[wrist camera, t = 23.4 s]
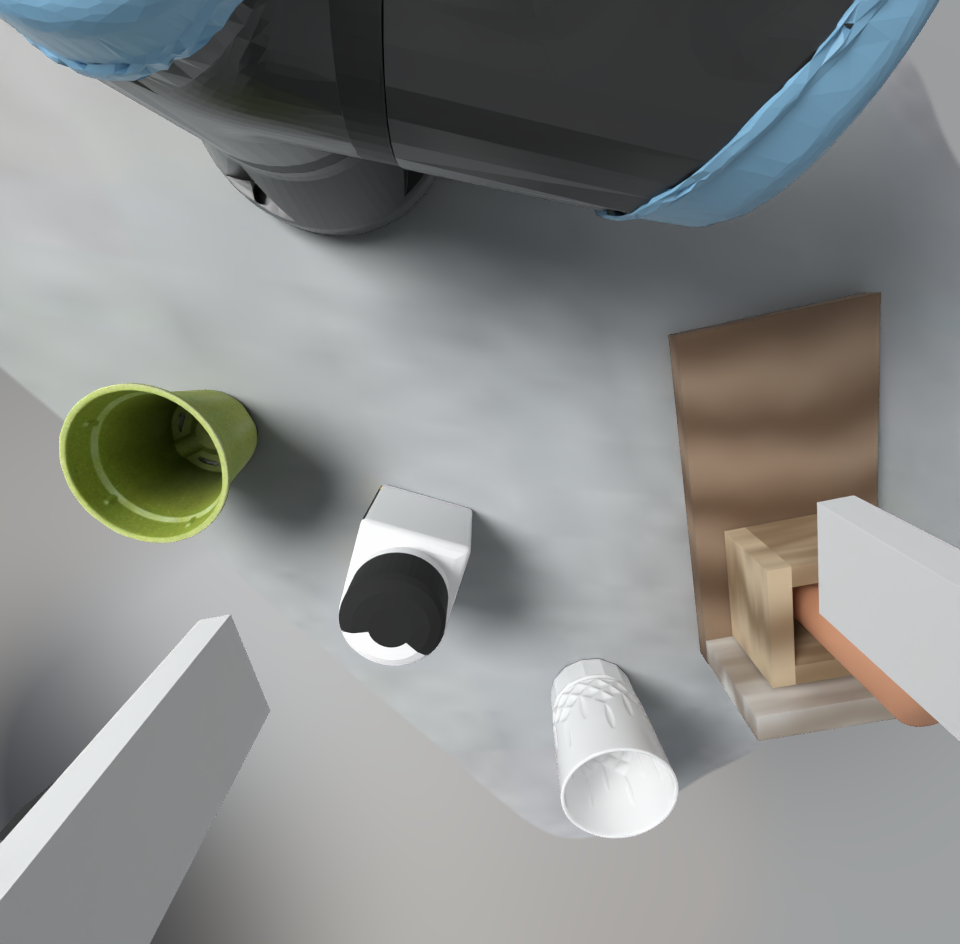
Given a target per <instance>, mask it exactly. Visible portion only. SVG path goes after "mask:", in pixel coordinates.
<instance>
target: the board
mask: <svg viewBox="0 0 960 944" xmlns="http://www.w3.org/2000/svg"><path fill="white" fill-rule="evenodd" d="M880 304H881V293H862V294H857V295H853V296H848V297H843V298H839V299H834V300H829V301H825V302H820V303H815V304H811V305H806V306H801V307H797V308H792V309H787V310H783V311H778V312H773V313H769V314H764V315H759V316H755V317H750V318H745V319H741V320H736V321H731V322H727V323H722V324H717V325H713V326H708V327H704V328H699V329H694V330H690V331H685V332H680V333H676V334H671V335H669V345H670V354H671V364H672V374H673V384H674V394H675V404H676V414H677V424H678V434H679V444H680V453H681V463H682V473H683V483H684V493H685V503H686V513H687V523H688V533H689V542H690V552H691V562H692V572H693V582H694V592H695V602H696V612H697V622H698V632H699V641H700V651H701V654H702V655H703V657H704V658H705V660H706V662H707V663H708V664H709V665H710V666H711V668H712V669H713V671H714V672H715V674H716V676H717V677H718V679H719V680H720V682H721V683H722V685H723V687H724V688H725V690H726V691H727V693H728V694H729V696H730V698H731V699H732V701H733V702H734V704H735V705H736V707H737V709H738V710H739V712H740V713H741V715H742V717H743V718H744V720H745V721H746V723H747V724H748V726H749V728H750V729H751V731H752V732H753V734H754V735H755V737H756V739H757V740H758V741H762V740H768V739H774V738H780V737H786V736H792V735H798V734H805V733H811V732H817V731H823V730H829V729H835V728H841V727H847V726H853V725H859V724H866V723H872V722H878V721H884V720H890V719H896V718H895V717H894V716H893V715H892V714H891V713H890V712H889V711H888V710H887V709H886V708H885V707H884V706H883V705H882V704H881V703H880V702H879V701H878V700H877V699H876V698H875V697H874V696H873V695H872V694H871V693H870V692H869V691H868V690H867V689H866V688H865V687H864V686H863V685H862V684H861V683H860V682H859V681H858V680H857V679H856V678H855V677H854V676H853V675H850V676H844V677H838V678H832V679H826V680H820V681H814V682H808V683H802V684H796V685H791V686H785V687H779V688H772V686H771V685H770V684H769V682H768V681H767V680H766V679H765V677H764V676H763V675H762V673H761V672H760V671H759V669H758V668H757V667H756V665H755V664H754V663H753V661H752V660H751V659H750V658H749V656H748V655H747V654H746V652H745V651H744V650H743V648H742V647H741V646H740V644H739V643H738V642H737V640H736V639H735V638H734V636H733V635H732V624H731V611H730V599H729V586H728V573H727V560H726V548H725V535H724V531H729V530H734V529H739V528H744V527H750V526H755V525H760V524H765V523H771V522H776V521H781V520H787V519H792V518H797V517H802V516H808V515H813V514H817V502H822V501H827V500H832V499H837V498H842V497H848V496H853V495H854V496H856V497H858V498H860V499H862V500H864V501H866V502H868V503H870V504H872V505H874V506H876V507H877V478H878V420H879V362H880Z"/></svg>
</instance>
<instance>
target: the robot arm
mask: <svg viewBox="0 0 960 944" xmlns="http://www.w3.org/2000/svg"><path fill="white" fill-rule="evenodd" d="M938 2H939V0H0V18H1V19H2V20H4V21H5V22H6V23H8V24H9V25H11V26H12V27H13V28H15V29H16V30H17V31H18V32H19V33H21V34H22V35H23V36H24V37H25V38H26V39H27V40H28V41H29V42H30V43H31V44H32V45H33V46H35V47H36V48H38V49H39V50H41V51H42V52H43V53H44V54H45V55H46V56H47V57H48V58H50V59H51V60H53V61H54V62H56V63H58V64H61V65H64V66H67V67H70V68H71V69H73V70H74V71H76V72H77V73H79V74H82V75H84V76H87V77H90V78H94V79H98V80H99V81H101V82H103V83H104V84H106V85H108V86H110V87H111V88H113V89H115V90H117V91H118V92H120V93H122V94H124V95H125V96H127V97H129V98H130V99H132V100H134V101H136V102H137V103H139V104H141V105H143V106H144V107H146V108H148V109H149V110H151V111H153V112H155V113H156V114H158V115H160V116H162V117H163V118H165V119H167V120H169V121H170V122H172V123H174V124H175V125H177V126H179V127H181V128H182V129H184V130H186V131H188V132H189V133H191V134H193V135H195V136H196V137H198V138H200V139H201V140H202V141H203V143H204V145H205V147H206V149H207V151H208V152H209V154H210V156H211V157H212V159H213V160H214V162H215V163H216V165H217V166H218V168H219V169H220V170H221V172H222V173H223V174H224V175H225V177H226V178H227V179H228V180H229V181H230V182H231V183H232V185H233V186H234V187H235V188H236V189H237V190H238V191H239V192H240V193H242V194H243V195H244V196H245V197H246V198H247V199H248V200H250V201H251V202H252V203H253V204H255V205H256V206H257V207H259V208H260V209H262V210H263V211H265V212H266V213H268V214H270V215H272V216H273V217H275V218H277V219H279V220H282V221H284V222H286V223H288V224H291V225H293V226H296V227H298V228H301V229H304V230H307V231H310V232H314V233H319V234H325V235H353V234H359V233H364V232H368V231H371V230H374V229H377V228H380V227H382V226H384V225H386V224H388V223H390V222H392V221H394V220H395V219H397V218H398V217H400V216H401V215H403V214H404V213H405V212H406V211H408V210H409V209H410V208H411V207H412V206H413V205H414V204H415V203H416V202H417V201H418V200H419V199H420V198H421V197H422V196H423V195H424V193H425V192H426V191H427V190H428V188H429V187H430V185H431V184H432V182H433V181H434V179H435V177H436V176H439V177H443V178H448V179H453V180H458V181H462V182H467V183H472V184H476V185H481V186H486V187H490V188H495V189H500V190H504V191H509V192H514V193H518V194H523V195H528V196H533V197H537V198H542V199H547V200H551V201H556V202H561V203H565V204H570V205H575V206H579V207H584V208H589V209H594V211H595V213H596V214H597V215H598V216H600V217H602V218H606V219H609V220H614V221H625V220H633V219H645V220H651V221H657V222H663V223H669V224H675V225H682V226H689V227H702V226H709V225H713V224H715V223H717V222H721V221H727V220H731V219H733V218H735V217H739V216H742V215H744V214H746V213H748V212H750V211H752V210H754V209H755V208H757V207H759V206H760V205H762V204H763V203H765V202H767V201H768V200H770V199H771V198H772V197H774V196H775V195H777V194H778V193H780V192H781V191H782V190H783V189H785V188H786V187H787V186H788V185H790V184H791V183H792V182H793V181H795V180H796V179H797V178H798V177H799V176H800V175H801V174H803V173H804V172H805V171H806V170H807V169H808V168H809V167H810V166H811V165H812V164H814V163H815V162H816V161H817V160H818V159H819V158H820V157H821V156H822V155H823V154H824V153H825V152H826V151H827V150H828V149H829V147H830V146H831V145H832V144H833V143H834V142H835V141H836V140H837V139H838V138H839V137H840V136H841V135H842V134H843V132H844V131H845V130H846V129H847V128H848V127H849V126H850V124H851V123H852V122H853V121H854V120H855V119H856V118H857V116H858V115H859V114H860V113H861V112H862V110H863V109H864V108H865V107H866V106H867V104H868V103H869V102H870V101H871V99H872V98H873V97H874V96H875V94H876V93H877V92H878V91H879V89H880V88H881V87H882V85H883V84H884V83H885V81H886V80H887V78H888V77H889V76H890V74H891V73H892V72H893V70H894V69H895V68H896V66H897V65H898V63H899V62H900V61H901V59H902V58H903V56H904V55H905V54H906V52H907V51H908V49H909V48H910V46H911V45H912V43H913V42H914V40H915V39H916V37H917V36H918V34H919V33H920V31H921V30H922V28H923V26H924V25H925V23H926V22H927V20H928V18H929V17H930V15H931V13H932V12H933V10H934V9H935V7H936V5H937V3H938ZM817 527H818V578H819V613H820V614H821V615H822V616H823V617H824V618H825V619H826V620H827V621H828V622H829V623H831V624H832V625H833V626H834V627H835V628H836V629H837V630H838V631H839V632H840V633H842V634H843V635H844V636H845V637H846V638H847V639H848V640H849V641H850V642H851V643H852V644H854V645H855V646H856V647H857V648H858V649H859V650H860V651H861V652H862V653H863V654H865V655H866V656H867V657H868V658H869V659H870V660H871V661H872V662H873V663H874V664H875V665H877V666H878V667H879V668H880V669H881V670H882V671H883V672H884V673H885V674H886V675H887V676H889V677H890V678H891V679H892V680H893V681H894V682H895V683H896V684H897V685H898V686H900V687H901V688H902V689H903V690H904V691H905V692H906V693H907V694H908V695H909V696H910V697H912V698H913V699H914V700H915V701H916V702H917V703H918V704H919V705H920V706H921V707H923V708H924V709H925V710H926V711H927V712H928V713H929V714H930V715H931V716H932V717H933V718H935V719H936V720H937V721H938V722H939V723H940V724H941V725H943V727H944V728H946V729H947V730H948V731H949V732H950V733H951V734H952V735H953V736H954V737H955V738H956V739H958V740H959V741H960V549H958V548H956V547H954V546H952V545H950V544H948V543H946V542H944V541H942V540H940V539H938V538H936V537H934V536H932V535H930V534H928V533H926V532H925V531H923V530H921V529H919V528H917V527H915V526H913V525H911V524H909V523H907V522H905V521H903V520H901V519H899V518H897V517H895V516H893V515H891V514H889V513H887V512H886V511H884V510H882V509H880V508H878V507H876V506H874V505H872V504H870V503H868V502H866V501H864V500H862V499H860V498H858V497H856V496H854V495H853V496H848V497H842V498H837V499H832V500H827V501H822V502H817ZM269 712H270V709H269V707H268V705H267V702H266V699H265V697H264V695H263V692H262V689H261V688H260V685H259V682H258V680H257V678H256V675H255V672H254V670H253V668H252V665H251V663H250V660H249V658H248V655H247V653H246V650H245V648H244V646H243V643H242V641H241V638H240V636H239V633H238V631H237V629H236V626H235V624H234V621H233V619H232V616H231V615H230V614H229V615H224V616H219V617H214V618H209V619H204V620H199V621H198V622H197V623H196V624H195V626H194V627H193V628H192V629H191V630H190V631H189V632H188V633H187V634H186V635H185V637H184V638H183V639H182V640H181V641H180V642H179V643H178V645H177V646H176V647H175V648H174V649H173V650H172V651H171V652H170V653H169V655H168V656H167V657H166V658H165V659H164V660H163V661H162V663H161V664H160V665H159V666H158V667H157V668H156V669H155V671H153V673H152V674H151V675H150V676H149V677H148V678H147V679H146V680H145V682H144V683H143V684H142V685H141V686H140V687H139V688H138V690H137V691H136V692H135V693H134V694H133V695H132V696H131V697H130V698H129V700H128V701H127V702H126V703H125V704H124V705H123V706H122V707H121V709H120V710H119V711H118V712H117V713H116V714H115V715H114V717H113V718H112V719H111V720H110V721H109V722H108V723H107V724H106V725H105V727H104V728H103V729H102V730H101V731H100V732H99V733H98V734H97V736H96V737H95V738H94V739H93V740H92V741H91V742H90V744H89V745H88V746H87V747H86V748H85V749H84V750H83V751H82V752H81V753H80V755H79V756H78V757H77V758H76V759H75V760H74V762H73V763H72V764H71V765H70V766H69V767H68V768H67V770H65V771H64V773H63V774H62V775H61V776H60V777H59V778H58V779H57V780H56V781H55V782H54V783H52V784H51V785H50V786H49V787H48V788H46V789H45V790H44V791H43V792H41V793H40V794H39V795H38V796H36V797H35V798H34V799H33V800H32V801H30V802H29V803H28V804H27V805H26V806H24V807H23V808H22V809H21V810H20V811H19V812H18V813H17V814H16V815H15V817H14V818H13V819H12V820H11V821H10V822H9V823H8V824H7V825H6V826H5V828H4V829H3V830H2V831H1V832H0V944H150V942H151V940H152V938H153V936H154V934H155V932H156V930H157V928H158V926H159V924H160V923H161V921H162V919H163V917H164V915H165V913H166V911H167V909H168V907H169V905H170V903H171V901H172V899H173V897H174V895H175V894H176V892H177V890H178V888H179V886H180V884H181V882H182V880H183V878H184V876H185V874H186V872H187V870H188V868H189V866H190V865H191V862H192V861H193V859H194V857H195V855H196V853H197V851H198V849H199V847H200V845H201V843H202V841H203V839H204V838H205V836H206V834H207V832H208V830H209V828H210V826H211V824H212V822H213V820H214V818H215V816H216V814H217V812H218V810H219V808H220V807H221V805H222V803H223V801H224V799H225V797H226V795H227V793H228V791H229V789H230V787H231V785H232V783H233V781H234V780H235V778H236V776H237V774H238V772H239V770H240V768H241V766H242V764H243V762H244V760H245V758H246V756H247V754H248V752H249V750H250V749H251V747H252V745H253V743H254V741H255V739H256V737H257V735H258V733H259V731H260V729H261V727H262V725H263V723H264V722H265V720H266V718H267V716H268V713H269Z"/></svg>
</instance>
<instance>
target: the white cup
mask: <svg viewBox="0 0 960 944" xmlns="http://www.w3.org/2000/svg"><path fill="white" fill-rule="evenodd" d="M551 703H552V710H553V731H554V743H555V753H556V761H557V770H558V778H559V787H560V796H561V804H562V807H563V810H564V812H565V814H566V816H567V817H568V818H569V820H570V821H571V822H572V823H573V824H574V825H575V826H577V827H578V828H580V829H581V830H583V831H585V832H587V833H589V834H592V835H595V836H599V837H604V838H626V837H631V836H635V835H639V834H642V833H644V832H647V831H649V830H651V829H653V828H654V827H656V826H657V825H659V824H660V823H661V822H663V821H664V820H665V819H666V818H667V816H668V815H669V814H670V813H671V811H672V810H673V808H674V806H675V804H676V802H677V798H678V792H679V787H678V781H677V778H676V775H675V773H674V771H673V769H672V767H671V765H670V763H669V760H668V758H667V756H666V754H665V752H664V750H663V748H662V746H661V743H660V741H659V739H658V737H657V735H656V733H655V731H654V728H653V726H652V724H651V722H650V720H649V718H648V716H647V715H646V713H645V710H644V708H643V706H642V704H641V702H640V701H639V699H638V697H637V696H636V694H635V692H634V690H633V688H632V686H631V683H630V681H629V679H628V677H627V676H626V675H625V674H624V673H623V672H622V671H621V670H620V668H619V667H618V666H617V665H615V664H612V663H609V662H607V661H604V660H601V659H589V660H580V661H578V662H576V663H574V664H571V665H569V666H567V667H565V668H564V669H563V670H562V672H561V673H560V674H559V675H558V676H557V677H556V678H555V680H554V683H553V687H552V691H551Z"/></svg>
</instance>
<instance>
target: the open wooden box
mask: <svg viewBox="0 0 960 944" xmlns="http://www.w3.org/2000/svg"><path fill="white" fill-rule="evenodd" d="M724 535H725V548H726V560H727V573H728V586H729V599H730V611H731V624H732V635H733V636H734V638H735V639H736V640H737V642H738V643H739V644H740V646H741V647H742V648H743V650H744V651H745V652H746V654H747V655H748V656H749V658H750V659H751V660H752V661H753V663H754V664H755V665H756V667H757V668H758V669H759V671H760V672H761V673H762V675H763V676H764V677H765V679H766V680H767V681H768V682H769V684H770V685H771V686H772V688H779V687H785V686H791V685H796V684H802V683H808V682H814V681H820V680H826V679H832V678H838V677H844V676H850V675H852V674H851V673H850V672H849V671H848V670H847V669H846V668H845V667H844V666H843V665H842V664H841V663H840V662H839V661H838V660H837V659H836V658H835V657H834V656H833V655H832V654H830V653H829V652H828V651H827V650H826V649H825V648H824V647H823V646H822V645H821V644H820V643H819V642H818V641H817V640H816V639H815V638H814V637H813V636H812V635H811V634H810V633H809V632H808V631H807V630H806V629H805V628H804V627H803V626H802V625H801V624H800V623H799V622H798V621H797V620H796V619H795V618H794V617H793V597H792V588H793V587H798V586H804V585H809V584H815V583H819V578H818V527H817V514H813V515H808V516H802V517H797V518H792V519H787V520H781V521H776V522H771V523H765V524H760V525H755V526H750V527H744V528H739V529H734V530H729V531H724Z"/></svg>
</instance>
